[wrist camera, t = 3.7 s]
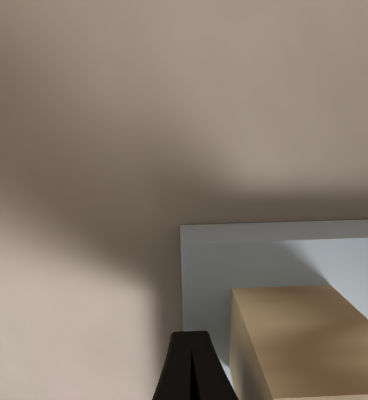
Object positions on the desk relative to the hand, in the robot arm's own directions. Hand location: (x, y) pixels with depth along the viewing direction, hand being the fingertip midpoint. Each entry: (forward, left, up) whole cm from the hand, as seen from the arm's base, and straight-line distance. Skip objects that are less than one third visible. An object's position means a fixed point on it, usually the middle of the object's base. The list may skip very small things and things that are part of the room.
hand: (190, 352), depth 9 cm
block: (-4, 0, -1) cm, 4 cm away
